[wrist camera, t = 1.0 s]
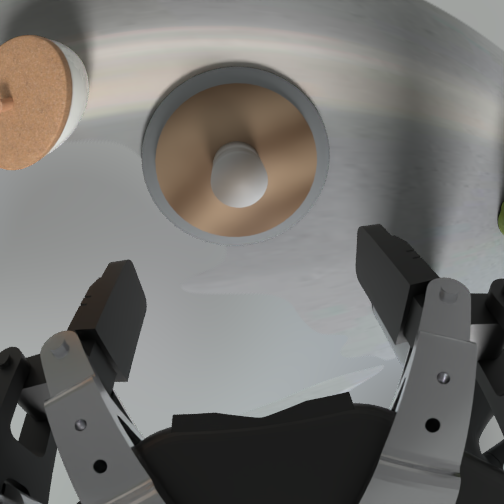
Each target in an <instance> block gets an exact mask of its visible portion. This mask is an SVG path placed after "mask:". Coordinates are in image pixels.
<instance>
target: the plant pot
mask: <svg viewBox="0 0 504 504" xmlns="http://www.w3.org/2000/svg"><path fill="white" fill-rule="evenodd" d="M498 225H499V229H500V231H501V232H502V233H503V235H504V201H503V203H502V206H501V212H500V215H499V217H498Z"/></svg>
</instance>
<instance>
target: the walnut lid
mask: <svg viewBox="0 0 504 504" xmlns="http://www.w3.org/2000/svg"><path fill="white" fill-rule="evenodd" d="M155 163H156V174H157V179H158V182H159V185H160V188H161V191H162V193H163V195H164V197H165V199H166V200H167V202H168V203H169V205H170V206H171V207H172V208H173V210H174V211H175V212H176V213H177V214H178V215H179V216H180V217H181V218H183V219H184V220H185V221H186V222H188V223H189V224H191V225H192V226H194V227H196V228H198V229H200V230H202V231H205V232H208V233H210V234H215V235H219V236H226V237H243V236H251V235H255V234H259V233H262V232H265V231H268V230H270V229H272V228H274V227H276V226H278V225H279V224H281V223H282V222H284V221H285V220H286V219H288V218H289V217H290V216H291V215H292V214H293V213H294V212H295V211H296V210H297V209H298V208H299V207H300V206H301V204H302V203H303V202H304V200H305V199H306V197H307V195H308V193H309V191H310V189H311V187H312V184H313V181H314V177H315V173H316V166H317V151H316V145H315V140H314V137H313V134H312V131H311V129H310V127H309V125H308V123H307V121H306V120H305V118H304V117H303V115H302V114H301V113H300V112H299V110H298V109H297V108H296V107H295V106H294V105H293V104H292V103H290V102H289V101H288V100H287V99H285V98H284V97H282V96H281V95H279V94H278V93H276V92H274V91H271V90H269V89H267V88H264V87H261V86H257V85H252V84H246V83H231V84H222V85H218V86H214V87H211V88H208V89H205V90H203V91H201V92H199V93H197V94H195V95H193V96H192V97H190V98H189V99H188V100H186V101H185V102H184V103H182V104H181V105H180V106H179V107H178V108H177V109H176V110H175V111H174V113H173V114H172V115H171V117H170V118H169V119H168V121H167V122H166V124H165V126H164V128H163V130H162V132H161V135H160V137H159V140H158V144H157V149H156V158H155Z"/></svg>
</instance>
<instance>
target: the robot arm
mask: <svg viewBox="0 0 504 504" xmlns="http://www.w3.org/2000/svg"><path fill="white" fill-rule="evenodd" d="M356 274H357V278H358V280H359V282H360V284H361V286H362V287H363V289H364V291H365V293H366V294H367V296H368V298H369V299H370V301H371V303H372V305H373V312H374V315H375V317H376V319H377V320H378V322H379V324H380V326H381V328H382V330H383V332H384V333H385V335H386V337H387V339H388V341H389V343H390V345H391V347H392V349H393V351H394V353H395V354H396V356H397V358H398V360H399V362H400V364H401V366H402V368H403V371H402V375H401V378H400V381H399V384H398V387H397V390H396V393H395V396H394V398H393V401H392V404H391V406H390V408H389V409H386V408H383V407H379V406H375V405H370V404H360V403H353V402H352V400H351V397H350V394H349V392H346V393H342V394H337V395H333V396H328V397H323V398H318V399H313V400H308V401H305V402H302V403H300V404H297V405H295V406H293V407H290V408H287V409H285V410H282V411H280V412H277V413H274V414H272V415H269V416H266V417H262V418H254V417H244V416H236V415H227V414H220V413H203V414H183V415H173V419H172V427H170V428H167V429H164V430H161V431H158V432H156V433H154V434H152V435H150V436H149V437H147V438H144V436H143V435H142V434H141V432H140V431H139V430H138V428H137V427H136V425H135V423H134V422H133V420H132V419H131V417H130V415H129V414H128V412H127V411H126V409H125V407H124V406H123V404H122V402H121V401H120V399H119V397H118V396H117V394H116V392H115V391H114V390H113V386H114V382H127V381H128V378H129V373H130V369H131V365H132V361H133V357H134V353H135V350H136V346H137V342H138V338H139V335H140V331H141V327H142V324H143V320H144V317H145V313H146V307H147V306H146V298H145V295H144V292H143V290H142V286H141V284H140V281H139V279H138V276H137V273H136V270H135V268H134V265H133V263H132V262H131V260H123V261H116V262H111V263H109V264H108V266H107V268H106V270H105V272H104V273H103V275H102V277H101V278H99V279H98V280H96V282H94V283H93V284H92V285H91V286H90V288H89V290H88V291H87V293H86V295H85V298H84V299H83V301H82V302H81V306H79V308H78V310H77V312H76V314H75V316H74V318H73V320H72V322H71V323H70V325H69V327H68V330H67V331H62V332H59V333H57V334H55V335H53V336H52V337H50V338H49V339H48V340H47V341H46V342H45V343H44V345H43V347H42V349H41V352H40V354H38V355H35V356H31V357H28V358H25V356H24V355H23V354H22V352H21V351H20V350H19V349H18V348H17V347H9V348H7V349H5V350H3V351H2V352H1V353H0V504H48V500H49V492H50V485H51V479H52V472H53V467H54V462H55V457H56V451H57V448H58V450H59V453H60V456H61V458H62V461H63V464H64V466H65V468H66V471H67V473H68V475H69V478H70V480H71V482H72V485H73V487H74V489H75V491H76V493H77V495H78V497H79V500H80V501H79V502H78V503H77V504H504V439H503V440H502V441H501V442H500V443H498V444H496V445H495V446H494V447H492V448H491V449H489V450H488V451H486V452H485V453H483V454H481V451H480V447H479V438H480V436H481V434H482V432H483V430H484V428H485V427H486V425H487V424H488V422H489V421H490V419H491V418H492V417H493V415H494V416H495V418H496V420H497V422H498V424H499V426H500V429H501V431H502V433H503V436H504V279H497V280H495V281H493V282H492V284H491V286H490V289H489V292H488V294H470V292H469V290H468V289H467V287H466V286H465V285H463V284H462V283H461V282H459V281H457V280H454V279H451V278H440V277H439V276H438V275H437V274H436V273H435V272H434V271H433V270H432V269H431V267H430V266H429V265H428V264H427V263H426V262H425V261H424V260H423V259H422V258H420V256H419V255H418V254H417V252H416V251H414V249H413V248H412V247H411V246H410V245H409V244H408V243H407V242H406V241H404V240H402V239H400V238H398V237H396V236H391V235H390V234H389V233H388V232H387V231H386V229H385V228H384V227H383V226H382V225H380V224H375V225H368V226H361V227H359V229H358V233H357V252H356ZM17 403H18V404H19V405H20V406H21V407H22V408H23V409H24V410H25V411H26V412H27V414H26V417H25V421H24V424H23V427H22V431H21V434H20V437H19V441H17V440H16V439H15V438H14V437H13V435H12V433H11V429H10V424H11V420H12V417H13V414H14V411H15V408H16V405H17Z"/></svg>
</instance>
